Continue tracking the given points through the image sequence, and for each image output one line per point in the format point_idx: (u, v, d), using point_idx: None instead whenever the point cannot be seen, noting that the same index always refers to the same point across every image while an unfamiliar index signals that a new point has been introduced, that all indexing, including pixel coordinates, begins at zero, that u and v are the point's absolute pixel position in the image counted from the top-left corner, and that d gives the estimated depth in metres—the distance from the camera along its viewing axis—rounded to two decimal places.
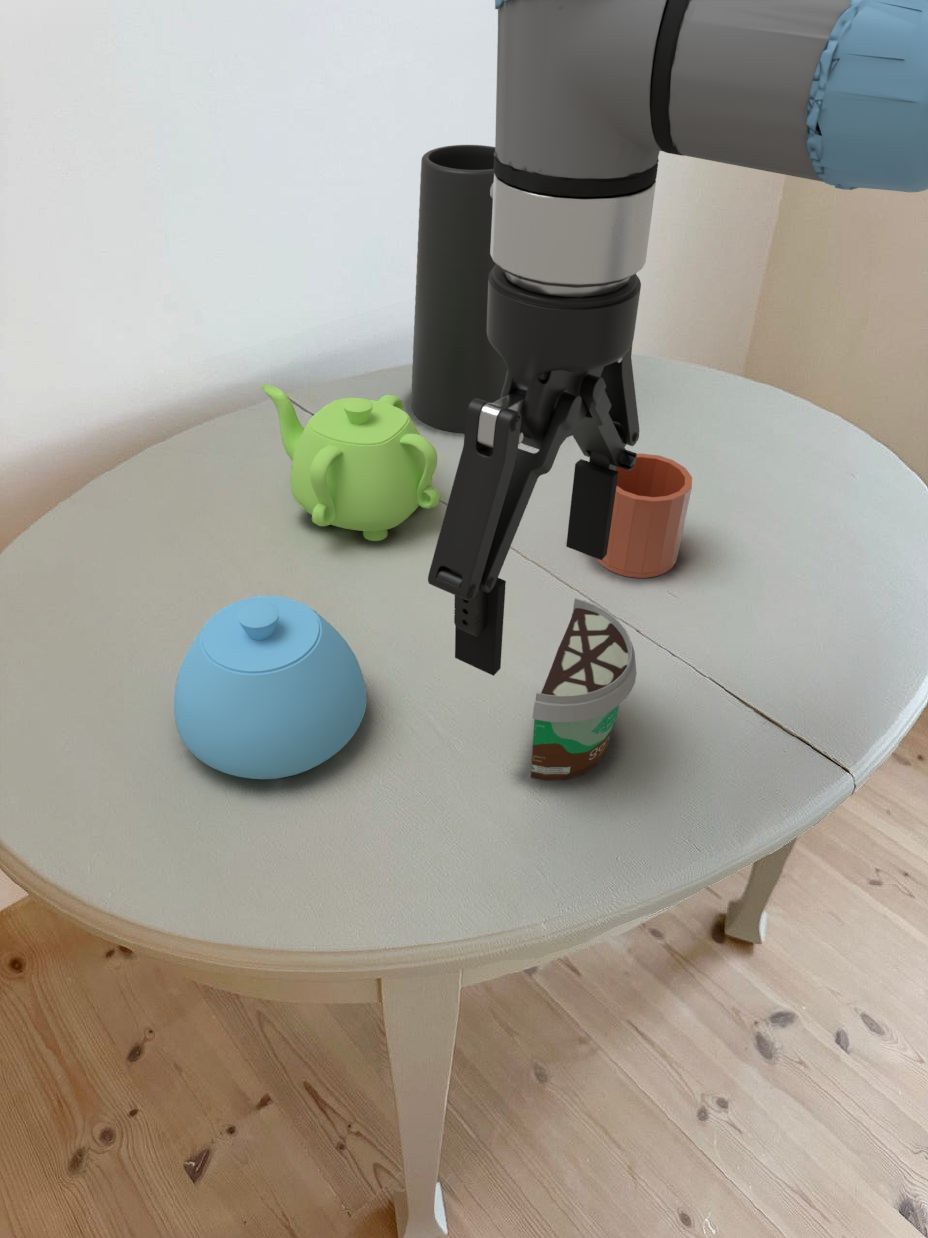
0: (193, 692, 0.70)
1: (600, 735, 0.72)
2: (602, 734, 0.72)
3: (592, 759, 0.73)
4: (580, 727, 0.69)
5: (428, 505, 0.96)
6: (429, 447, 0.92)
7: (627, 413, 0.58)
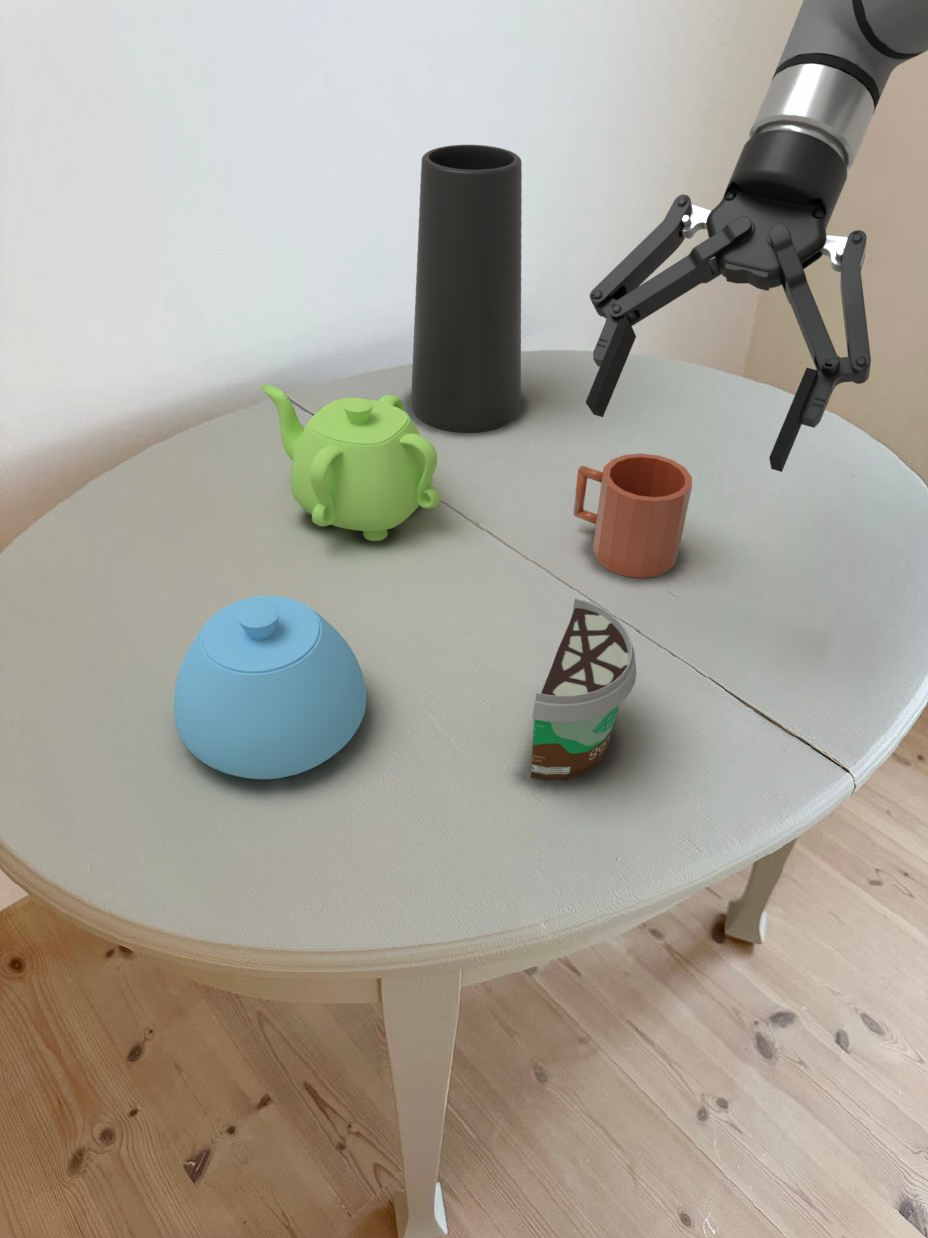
0: (193, 692, 0.70)
1: (600, 735, 0.72)
2: (602, 734, 0.72)
3: (592, 759, 0.73)
4: (580, 727, 0.69)
5: (428, 505, 0.96)
6: (429, 447, 0.92)
7: (847, 320, 0.63)
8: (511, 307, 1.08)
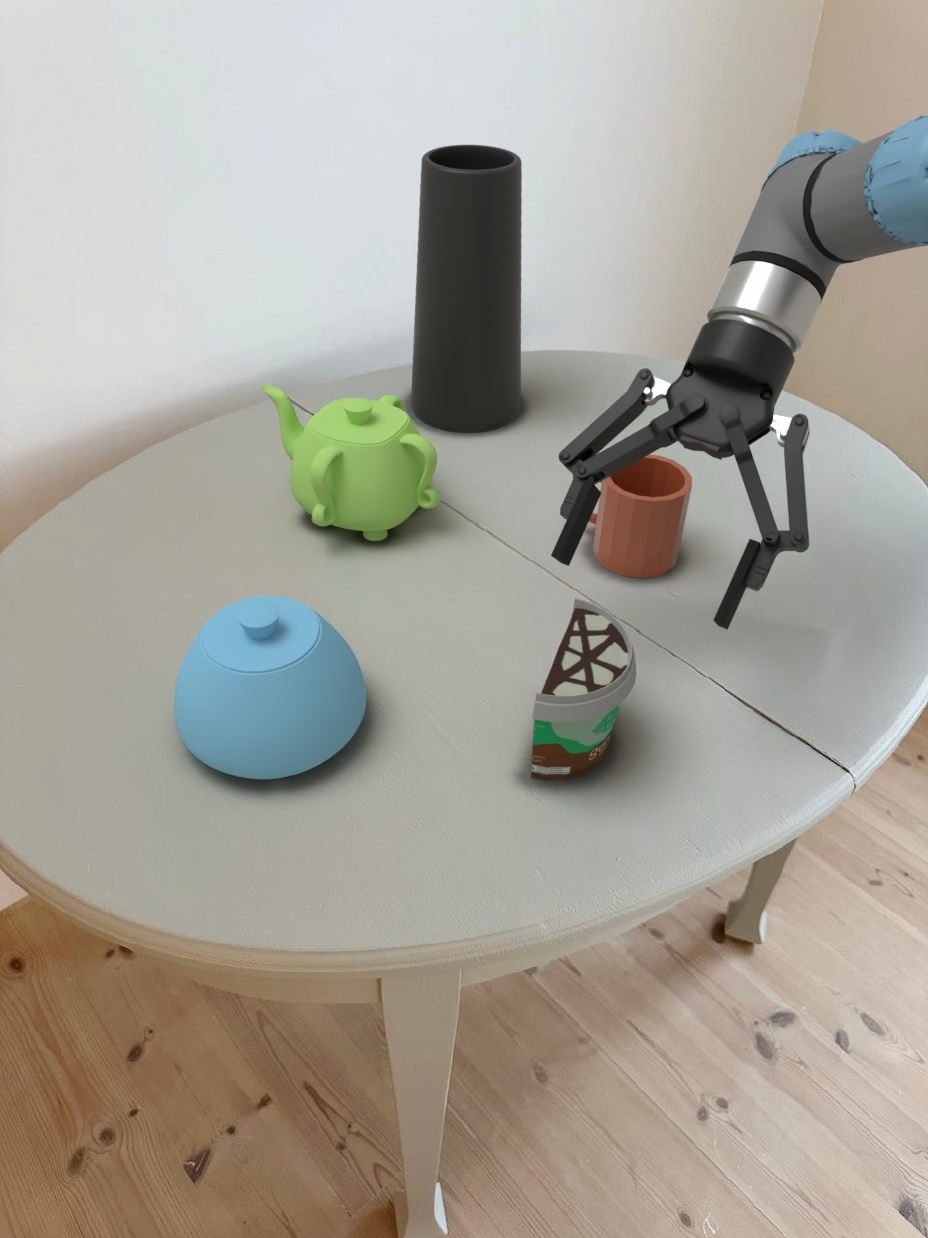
0: (193, 692, 0.70)
1: (600, 735, 0.72)
2: (602, 734, 0.72)
3: (592, 759, 0.73)
4: (580, 727, 0.69)
5: (428, 505, 0.96)
6: (429, 447, 0.92)
7: (788, 497, 0.69)
8: (511, 307, 1.08)
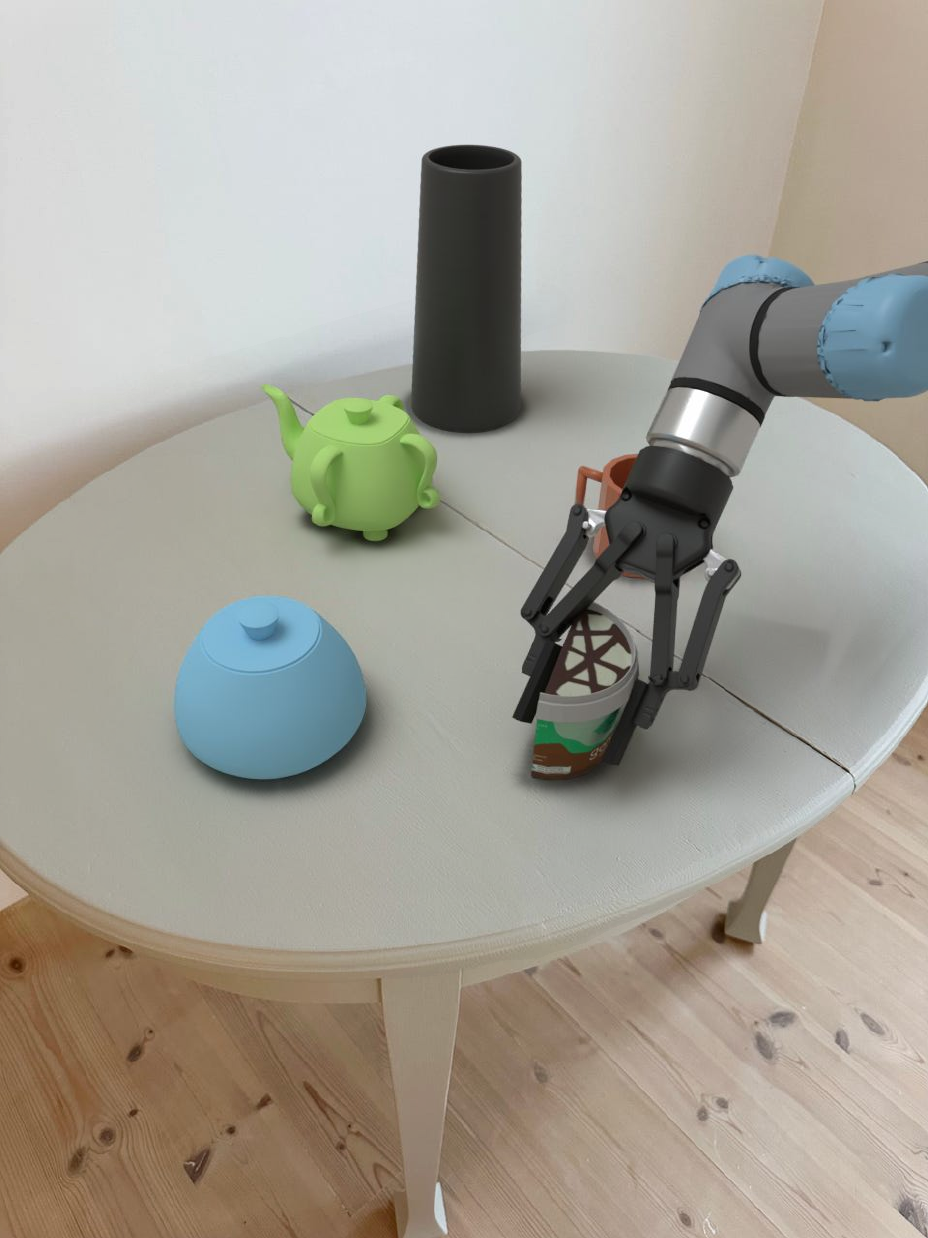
0: (193, 692, 0.70)
1: (601, 735, 0.72)
2: (603, 734, 0.72)
3: (593, 759, 0.73)
4: (582, 727, 0.69)
5: (428, 505, 0.96)
6: (429, 447, 0.92)
7: (690, 637, 0.69)
8: (511, 307, 1.08)
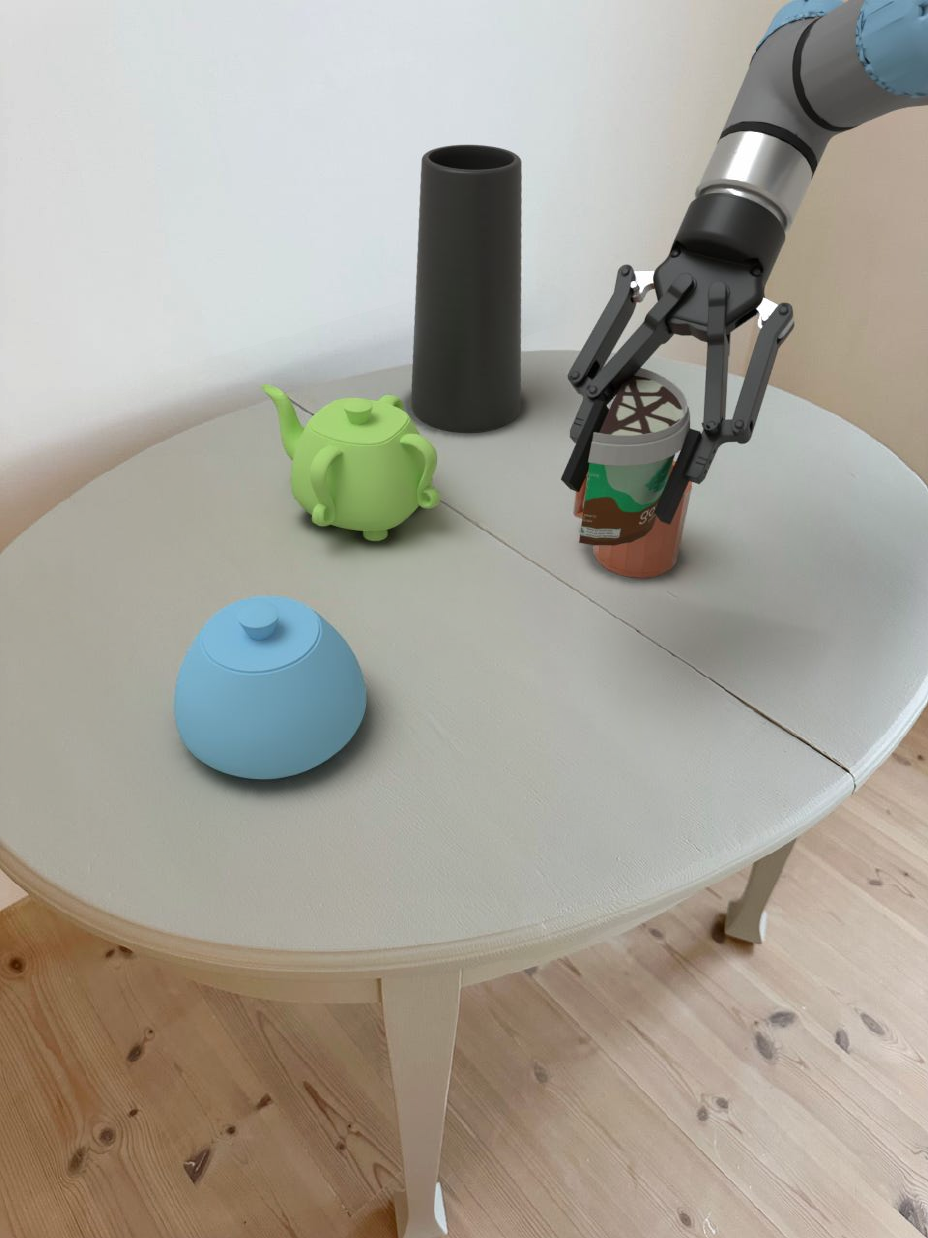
0: (193, 692, 0.70)
1: (652, 494, 0.70)
2: (654, 493, 0.71)
3: (642, 524, 0.72)
4: (635, 477, 0.68)
5: (428, 505, 0.96)
6: (429, 447, 0.92)
7: (744, 382, 0.67)
8: (511, 307, 1.08)
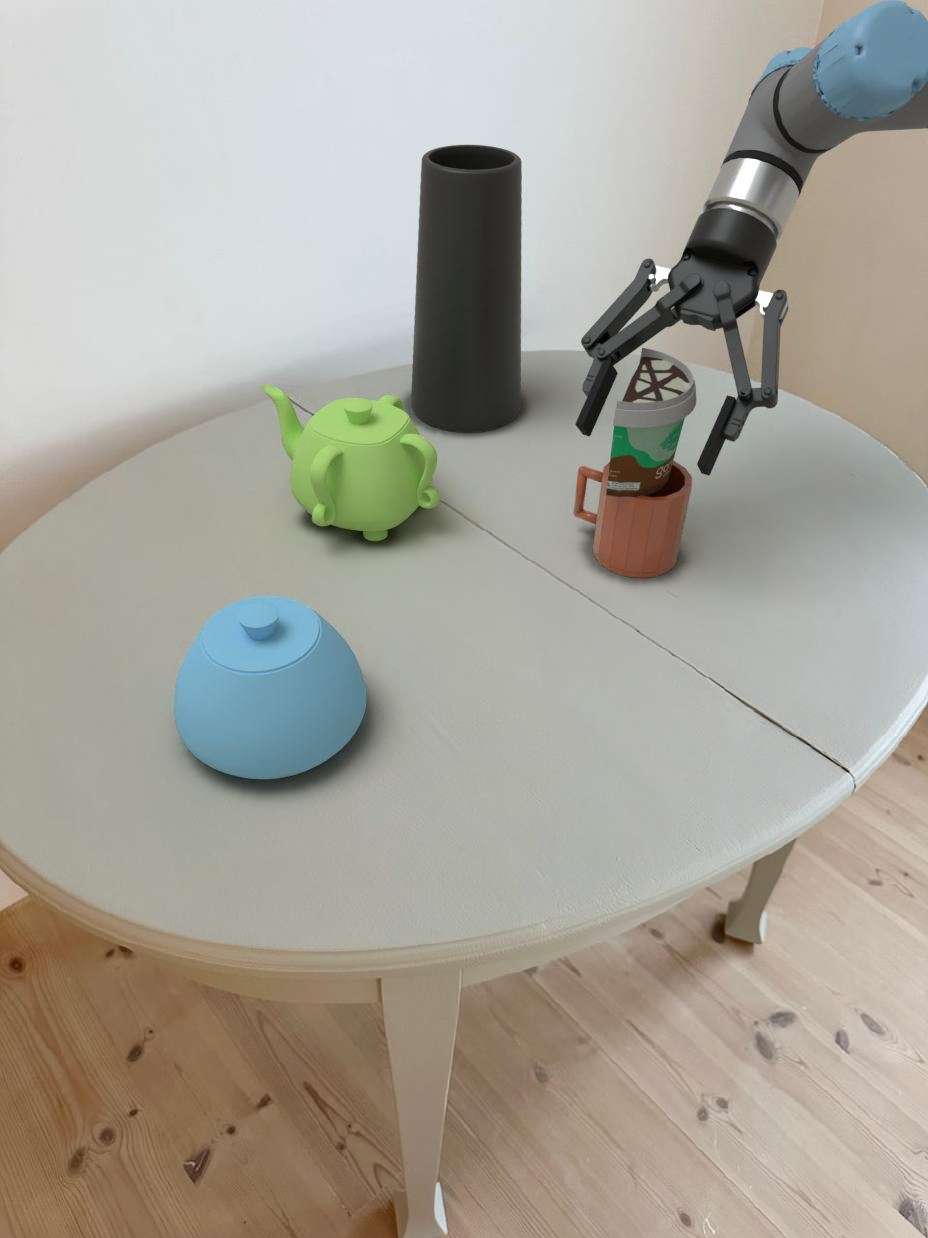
0: (193, 692, 0.70)
1: (666, 452, 0.86)
2: (667, 452, 0.86)
3: (658, 478, 0.88)
4: (651, 438, 0.83)
5: (428, 505, 0.96)
6: (429, 447, 0.92)
7: (763, 358, 0.82)
8: (511, 307, 1.08)
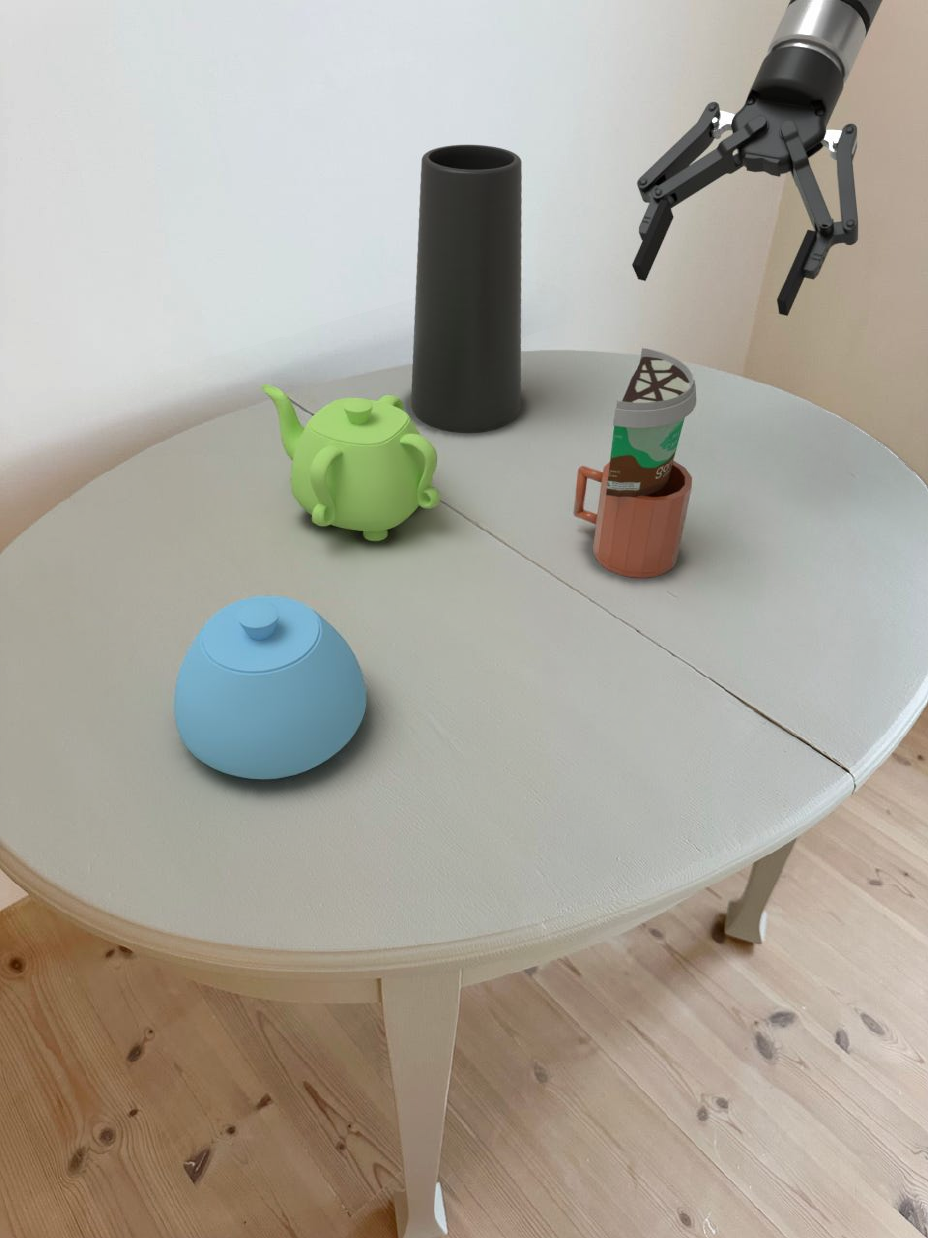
0: (193, 692, 0.70)
1: (666, 452, 0.86)
2: (667, 452, 0.86)
3: (658, 478, 0.88)
4: (651, 438, 0.83)
5: (428, 505, 0.96)
6: (429, 447, 0.92)
7: (840, 192, 0.81)
8: (511, 307, 1.08)
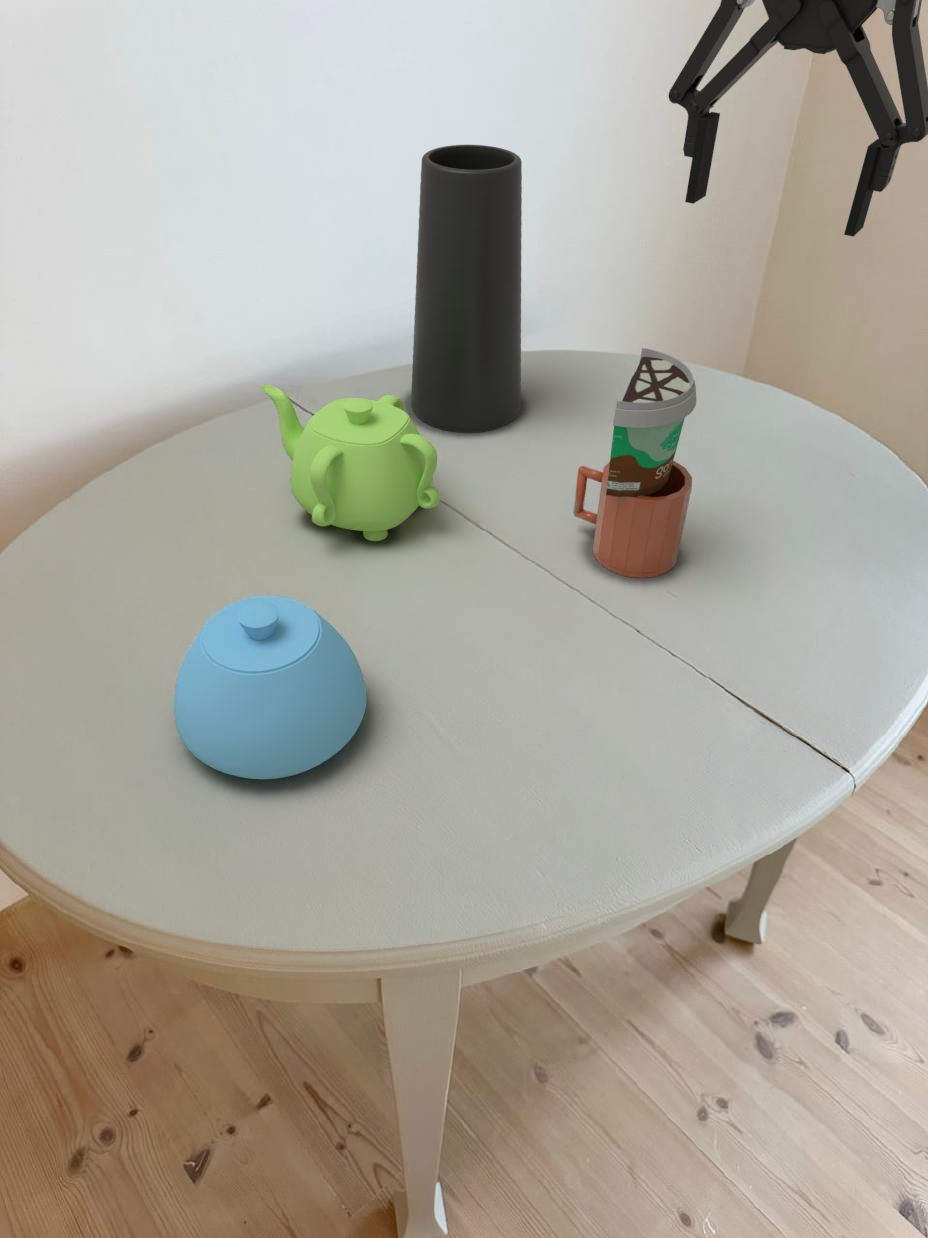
0: (193, 692, 0.70)
1: (666, 452, 0.86)
2: (667, 452, 0.86)
3: (658, 478, 0.88)
4: (651, 438, 0.83)
5: (428, 505, 0.96)
6: (429, 447, 0.92)
7: (901, 91, 0.69)
8: (511, 307, 1.08)
